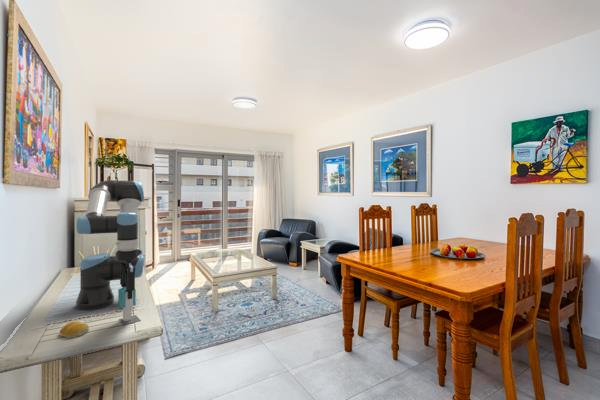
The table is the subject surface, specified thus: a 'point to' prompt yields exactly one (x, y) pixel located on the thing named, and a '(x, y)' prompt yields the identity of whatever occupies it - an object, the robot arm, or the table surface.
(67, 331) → the bread roll
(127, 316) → the white rectangular block
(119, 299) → the teal toy brick
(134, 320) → the panel
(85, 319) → the table surface
